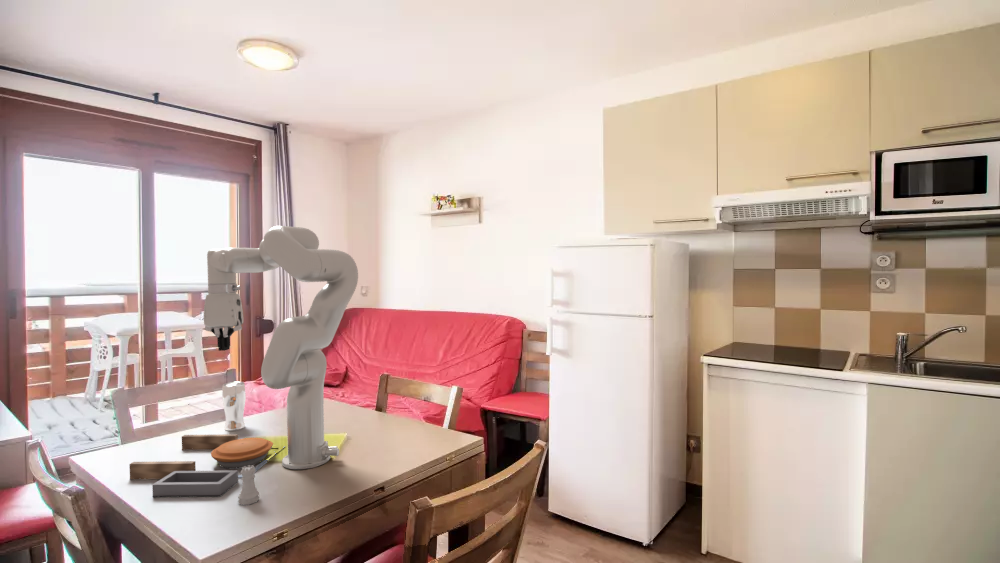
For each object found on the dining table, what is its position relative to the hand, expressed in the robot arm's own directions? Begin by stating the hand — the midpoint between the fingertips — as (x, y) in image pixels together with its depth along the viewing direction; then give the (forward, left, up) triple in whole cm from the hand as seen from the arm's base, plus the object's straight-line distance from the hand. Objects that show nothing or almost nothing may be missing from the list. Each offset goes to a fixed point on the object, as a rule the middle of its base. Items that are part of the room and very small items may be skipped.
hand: (224, 349), depth 154 cm
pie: (-12, +13, -30) cm, 34 cm away
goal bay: (-11, +14, -29) cm, 34 cm away
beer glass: (+6, -16, -29) cm, 34 cm away
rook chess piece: (-26, +38, -29) cm, 55 cm away
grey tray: (-10, +32, -29) cm, 44 cm away
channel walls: (+3, +14, -29) cm, 32 cm away
